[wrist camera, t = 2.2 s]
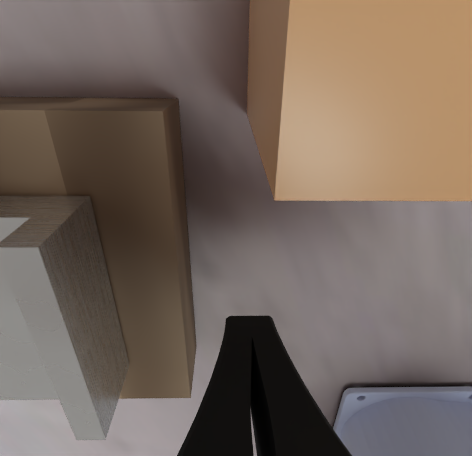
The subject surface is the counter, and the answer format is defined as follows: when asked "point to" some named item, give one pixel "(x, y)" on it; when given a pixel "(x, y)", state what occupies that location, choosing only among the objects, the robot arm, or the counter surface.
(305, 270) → the counter surface
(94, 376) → the grey stepped block
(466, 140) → the tan cardboard box
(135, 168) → the socket plate
